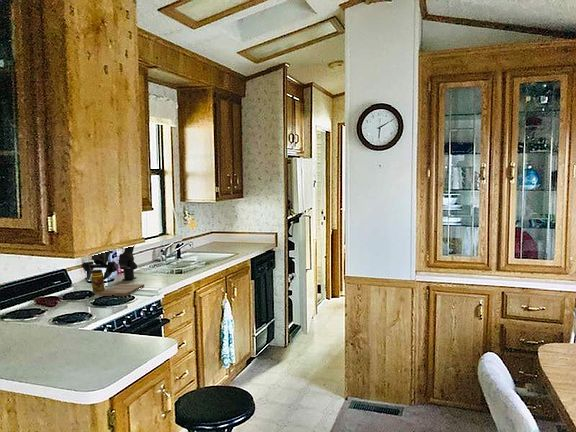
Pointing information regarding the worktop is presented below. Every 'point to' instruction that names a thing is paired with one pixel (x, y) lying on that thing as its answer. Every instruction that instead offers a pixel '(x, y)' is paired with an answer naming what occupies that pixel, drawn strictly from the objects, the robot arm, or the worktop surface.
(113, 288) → the walnut board
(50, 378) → the worktop surface
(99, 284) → the yellow black cylinder
